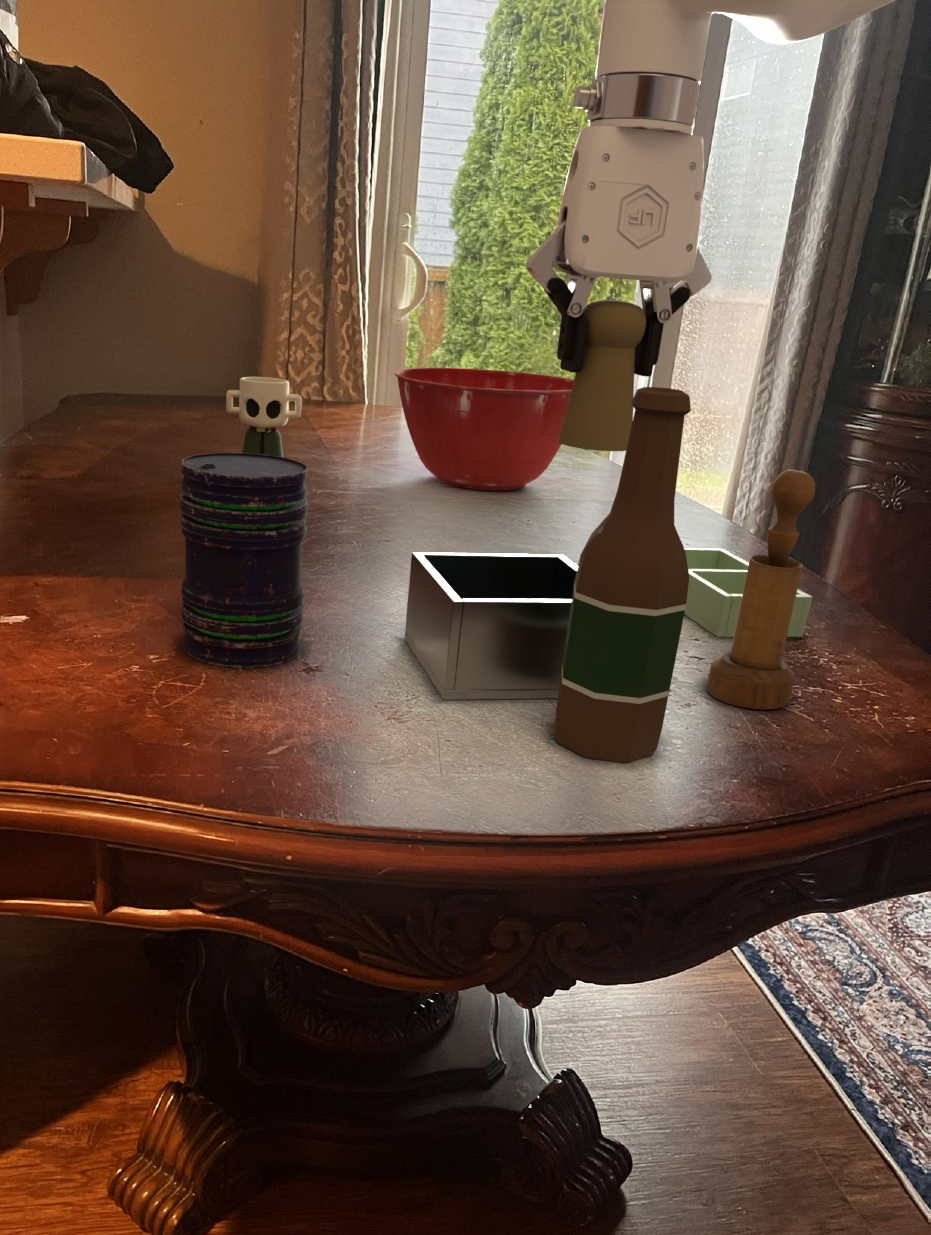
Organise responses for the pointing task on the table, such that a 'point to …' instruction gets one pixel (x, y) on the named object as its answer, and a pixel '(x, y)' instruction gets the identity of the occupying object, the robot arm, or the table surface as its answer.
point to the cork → (605, 378)
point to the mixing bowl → (484, 423)
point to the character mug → (263, 412)
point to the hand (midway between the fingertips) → (605, 370)
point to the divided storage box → (727, 592)
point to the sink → (490, 622)
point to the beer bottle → (629, 598)
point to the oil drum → (242, 558)
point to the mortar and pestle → (766, 610)
